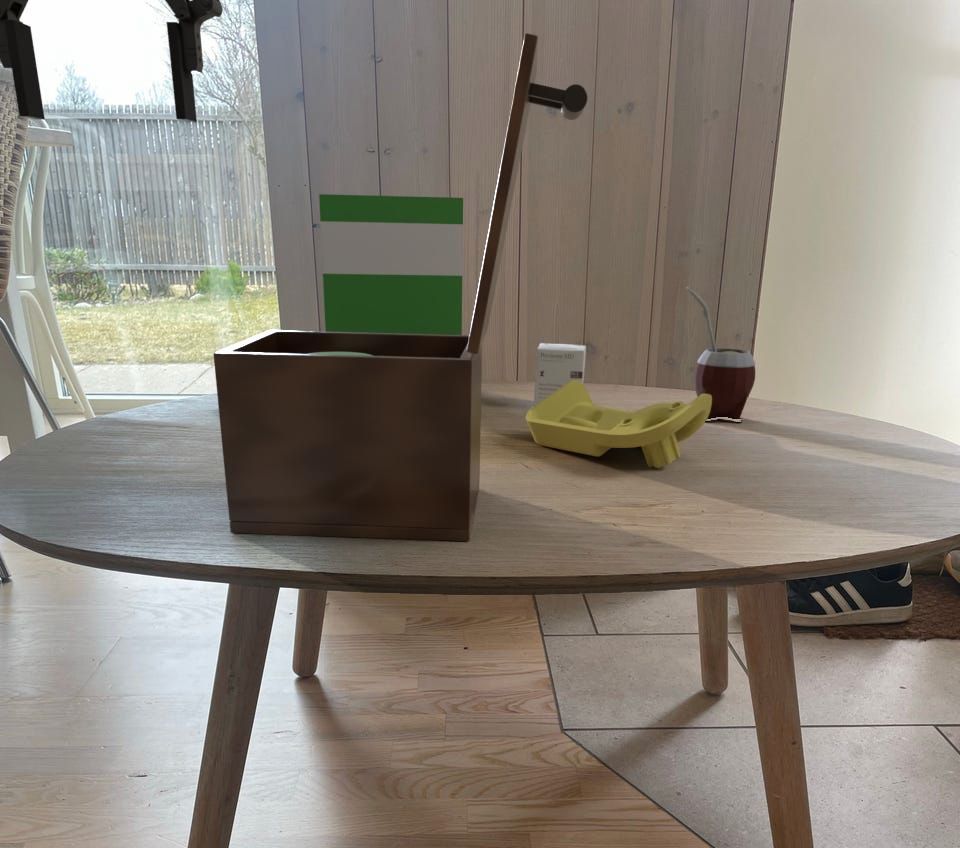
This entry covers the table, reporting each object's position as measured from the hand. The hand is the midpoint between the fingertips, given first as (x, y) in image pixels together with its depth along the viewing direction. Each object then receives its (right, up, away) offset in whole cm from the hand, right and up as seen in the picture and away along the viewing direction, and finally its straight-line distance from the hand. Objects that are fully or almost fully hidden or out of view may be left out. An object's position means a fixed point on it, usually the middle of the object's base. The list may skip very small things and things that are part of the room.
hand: (109, 119), depth 75 cm
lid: (+31, -11, -10) cm, 35 cm away
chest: (+21, -32, 0) cm, 38 cm away
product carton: (+40, -12, +44) cm, 61 cm away
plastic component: (+44, -24, +19) cm, 53 cm away
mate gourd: (+59, -15, +38) cm, 72 cm away
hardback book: (+18, -8, +52) cm, 56 cm away
